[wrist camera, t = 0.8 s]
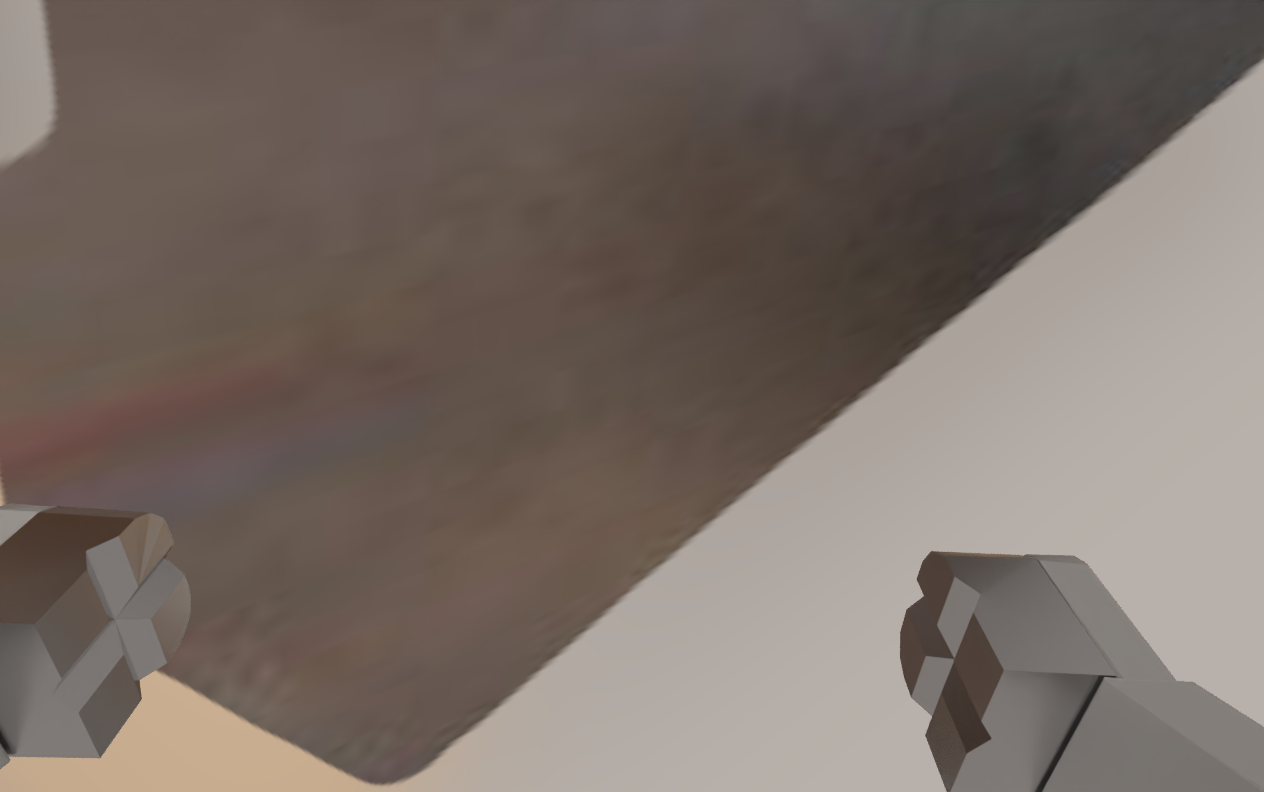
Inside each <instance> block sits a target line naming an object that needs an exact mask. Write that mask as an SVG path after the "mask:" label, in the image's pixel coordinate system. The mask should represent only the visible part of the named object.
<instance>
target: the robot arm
mask: <svg viewBox="0 0 1264 792" xmlns="http://www.w3.org/2000/svg"><path fill="white" fill-rule="evenodd" d="M173 544H174V541H173V538H172V536H171V533H170V531H169V528H168V526H167V523H166V521H165V519H164V518H162V517H159V516H157V515H154V514H152V513H146V512H132V511H118V510H105V509H91V508H77V507H63V506H57V507H49V506H37V505H23V504H7V505H3V506H0V769H1V768H2V767H3V766H5V765H6V764H8V763H9V761H10V759H9V757H63V758H64V757H65V758H101V756H102V755H103V753H104V752H105V751H106V749H107V748H108V746H109V745H110V743H111V742H112V741H113V739H114V738H115V736H116V735H117V733H118V732H119V731H120V729H121V728H122V726H123V725H124V724H125V722H126V721H127V719H128V718H129V717H130V715H131V714H132V712H133V711H134V709H135V708H136V707H137V705H138V704H139V702H140V701H141V699H142V698H141V690H140V681H139V680H140V679H142V678H143V677H145V676H147V675H148V674H150V673H152V672H153V671H155V670H156V669H158V668H160V667H161V666H163V665H164V664H166V663H167V662H168V661H169V659H170V658H171V656H172V655H173V653H174V652H175V650H176V649H177V647H178V646H179V644H180V643H181V641H182V639H183V636H184V633H185V630H186V626H187V623H188V620H189V617H190V613H191V601H190V589H189V586H188V583H187V580H186V577H185V574H184V573H182V572H181V571H180V570H179V569H178V568H176V567H175V566H174V565H173V564H172V563H171V562H169V561H168V560H167V559H166V558H165V557H166V556H167V554H168V552H169V551H170V549H171V548H172V546H173ZM917 581H918V583H919V585H920V588H921V590H922V592H923V594H924V597H922V598H921V599H920V600H918V601H917V602H916V603H914V604H913V605H912V606H911V607H909V608H908V609H907V610H906V614H905V618H904V621H903V625H902V628H901V632H900V659H901V664H902V669H903V674H904V678H905V681H906V684H907V687H908V690H909V692H910V695H911V698H912V699H914V700H915V701H916V702H917V703H918V704H919V705H920V706H921V707H923V708H924V709H925V710H926V711H927V712H928V713H929V714H930V715H931V716H932V719H931V721H930V724H929V727H928V730H927V732H926V738H927V741H928V744H929V746H930V749H931V751H932V754H933V757H934V759H935V762H936V765H937V767H938V770H939V772H940V775H941V778H942V780H943V783H944V786H945V788H946V791H947V792H1264V727H1263V726H1261V725H1260V724H1258V723H1257V722H1255V721H1254V720H1252V719H1250V718H1249V717H1247V716H1246V715H1244V714H1243V713H1241V712H1239V711H1238V710H1236V709H1235V708H1233V707H1232V706H1230V705H1228V704H1227V703H1225V702H1224V701H1222V700H1221V699H1219V698H1217V697H1216V696H1214V695H1213V694H1211V693H1209V692H1208V691H1206V690H1205V689H1203V688H1202V687H1200V686H1199V685H1197V684H1195V683H1193V682H1183V681H1176V679H1175V678H1174V677H1173V675H1172V674H1171V673H1170V671H1169V670H1168V669H1167V668H1166V666H1165V665H1164V664H1163V662H1162V661H1161V660H1160V658H1159V657H1158V656H1157V655H1156V653H1155V652H1154V651H1153V649H1152V648H1151V647H1150V645H1149V644H1148V643H1147V641H1146V640H1145V639H1144V638H1143V636H1142V635H1141V634H1140V632H1139V631H1138V630H1137V628H1136V627H1135V626H1134V625H1133V623H1132V622H1131V620H1130V619H1129V618H1128V617H1127V615H1126V614H1125V613H1124V611H1123V610H1122V609H1121V607H1120V606H1119V605H1118V603H1117V602H1116V601H1115V600H1114V598H1113V597H1112V596H1111V594H1110V593H1109V592H1108V590H1107V589H1106V588H1105V587H1104V585H1103V584H1102V583H1101V581H1100V580H1099V579H1098V577H1097V576H1096V575H1095V573H1094V572H1093V571H1092V569H1091V568H1090V567H1089V566H1088V565H1087V564H1086V563H1085V562H1084V561H1082V560H1080V559H1078V558H1077V557H1075V556H1064V555H1030V554H1027V555H1024V556H1021V555H1005V554H982V553H981V554H980V553H959V552H958V553H957V552H934V551H931V552H930V553H929V554H928V556H927V557H926V558H925V559H924V560H923V562H922V565H921V568H920V571H919V574H918V577H917Z"/></svg>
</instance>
